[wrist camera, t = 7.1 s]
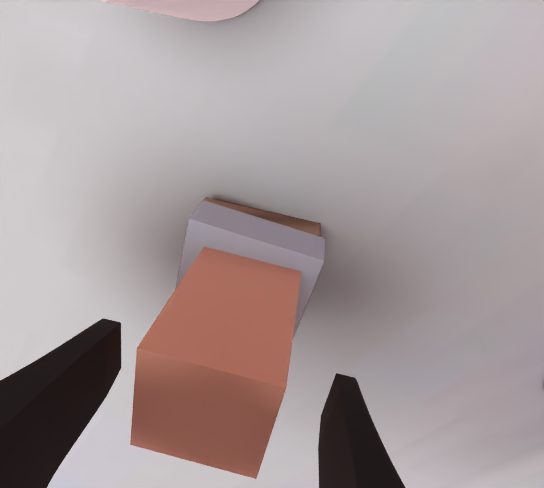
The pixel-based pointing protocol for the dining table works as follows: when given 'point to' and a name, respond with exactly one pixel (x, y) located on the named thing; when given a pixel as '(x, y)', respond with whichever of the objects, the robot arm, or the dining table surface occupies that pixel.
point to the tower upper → (254, 245)
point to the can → (192, 8)
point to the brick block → (217, 363)
